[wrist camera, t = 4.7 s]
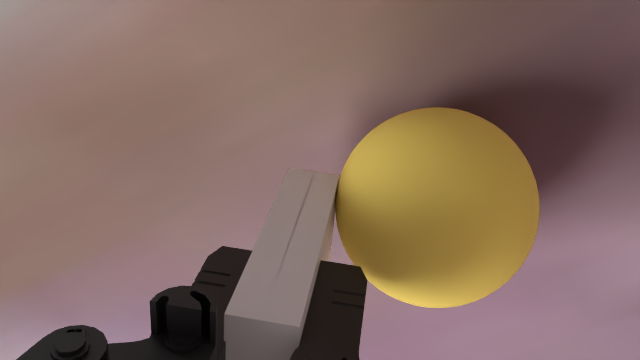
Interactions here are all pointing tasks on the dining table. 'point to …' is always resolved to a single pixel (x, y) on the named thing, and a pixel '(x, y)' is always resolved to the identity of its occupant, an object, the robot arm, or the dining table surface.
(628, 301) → the dining table surface
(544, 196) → the dining table surface
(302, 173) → the robot arm
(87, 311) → the dining table surface
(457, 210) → the ball
